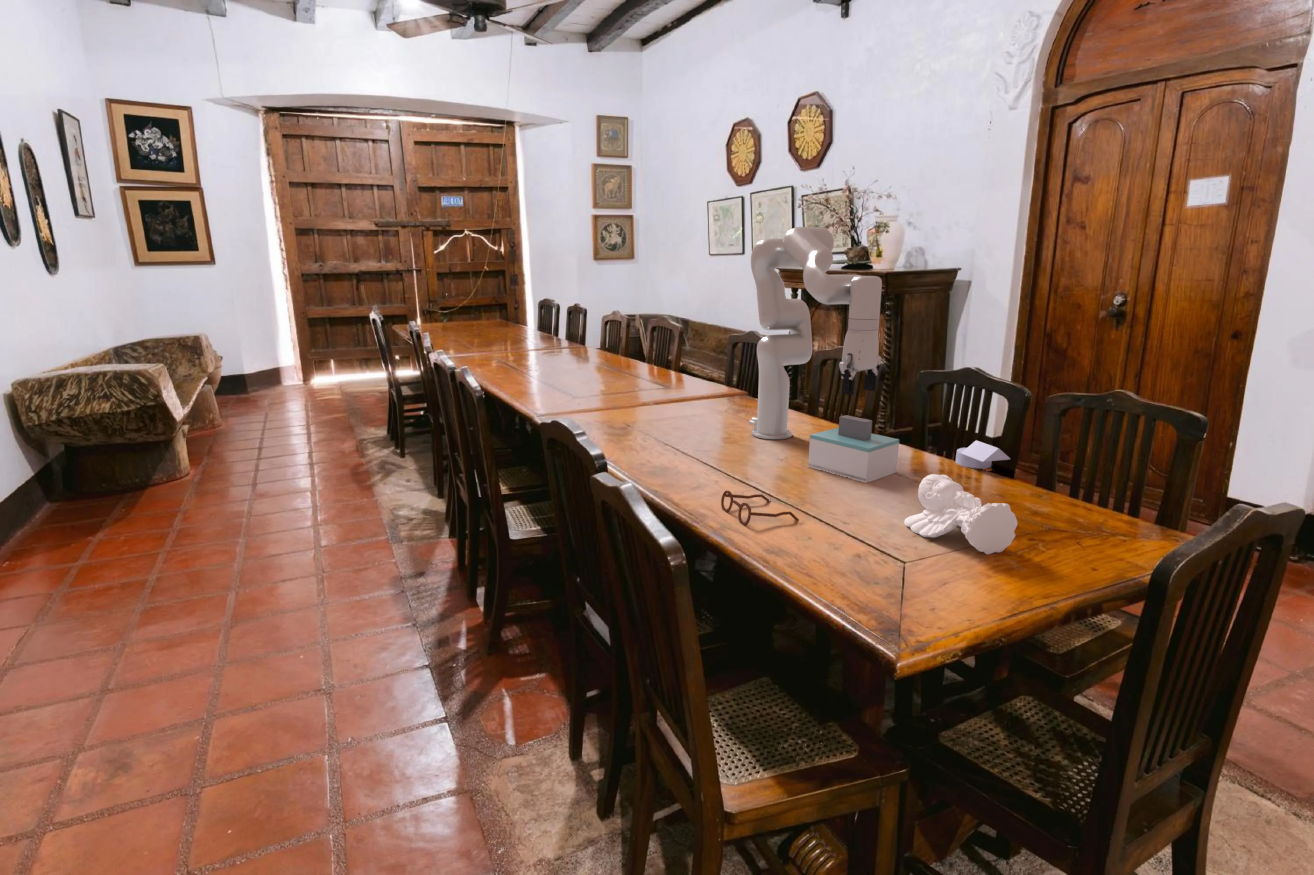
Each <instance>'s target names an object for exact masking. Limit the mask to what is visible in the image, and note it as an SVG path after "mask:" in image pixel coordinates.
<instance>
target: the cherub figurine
mask: <svg viewBox="0 0 1314 875" xmlns="http://www.w3.org/2000/svg"><path fill="white" fill-rule="evenodd" d="M917 496H918V500H919V503H920V504H921V505H922V506H923V507H924V508H925V509H923V511H922V512H921V513H920V512H919V513H917V514H913V515H910V516H907V517H906V518H905V519H904V522H903V523H904V525H905V526H906V527H907V528H910V530H911V532H913V533H915V534H917V535H919V536H921V537H924V538H939V537H940V536H943V535H946V534H948V533H949V532H952V531H953V530H954V529H955V528H957V527H960V528H961V529H960V530H961V533H962V534H963V535H964V536H965V537H964V538H965V539H966V540H967V541H968V543H969V544H970V545H971V546H972V547H974V548H975V549H976V550H977V551H978V552H981V553H984V554H985V555H991V554H994V553H1002V552H1003V551H1004V550H1005V549H1006V548H1008V547H1009V546H1011V545H1012V542H1013V540H1014V539H1015V537H1016V533H1015V531H1016V528H1017V527H1018V519H1017V517H1016V514H1015V513H1014V512H1013V511H1012V510H1011V506H1010V504H1008V503H1004V502H1002V503H998V502H994V503H986V504H984V505H982V500H981V499H980V497H975V495H973V494H971V493H970V492H968V491H965V490H964V487H963V486H962V485H961V484H960V483H958V482H956V481H953V479H952V478H951V477H949V475H946V474H938V473H936V474H935V473H932V474H928V475H926V476H925V477H923V478H922V479H921V482H920V483H919V486H918V490H917Z"/></svg>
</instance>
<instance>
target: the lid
mask: <svg viewBox="0 0 1314 875" xmlns="http://www.w3.org/2000/svg"><path fill="white" fill-rule="evenodd" d="M838 419H839V420H838V421H839V422H838V427H835V428H830V429H827V430H823V431H819V432H814V433H811V434H810V435H809V439H810V438H811V439H815V440H819V441H823V442H827V443H831V444H835V445H840V446H844V447H848V448H852V449H856V450H860V451H864V452H868V453H869V452H872V451H875V450H878V449H882V448H885V447H888V446H891V445H895V444H898V443H899V444H900V439H899V438H896V437H895V438H894V437H889V436H885V435H881V434H875V433H872V428H873V420H872V419H868V418H861V417H856V416H854V415H853V416H852V415H847V414H846V415H841V416H839V418H838Z"/></svg>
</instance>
